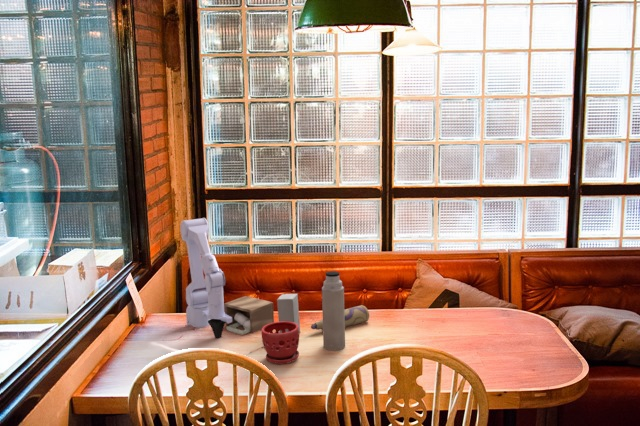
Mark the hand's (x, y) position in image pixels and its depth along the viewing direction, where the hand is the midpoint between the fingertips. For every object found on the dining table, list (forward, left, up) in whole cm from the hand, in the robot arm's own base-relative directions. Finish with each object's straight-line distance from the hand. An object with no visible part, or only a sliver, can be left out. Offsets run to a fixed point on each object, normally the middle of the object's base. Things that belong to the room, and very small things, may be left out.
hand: (218, 337), depth 250 cm
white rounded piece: (+1, +14, +2) cm, 14 cm away
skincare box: (+19, +19, -1) cm, 27 cm away
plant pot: (+32, 0, -1) cm, 32 cm away
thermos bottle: (+40, +20, -1) cm, 45 cm away
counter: (0, +17, -1) cm, 17 cm away
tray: (+1, +14, -2) cm, 14 cm away
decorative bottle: (+29, +38, -1) cm, 48 cm away
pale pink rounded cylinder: (+3, +17, +2) cm, 18 cm away
